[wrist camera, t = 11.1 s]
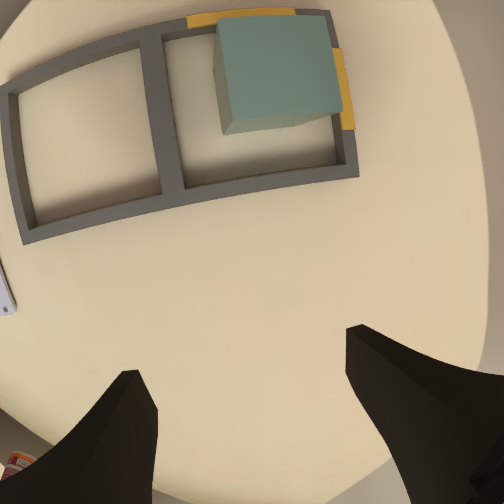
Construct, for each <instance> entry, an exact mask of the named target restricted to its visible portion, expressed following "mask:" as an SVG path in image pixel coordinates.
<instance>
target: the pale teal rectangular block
mask: <svg viewBox="0 0 504 504" xmlns="http://www.w3.org/2000/svg"><path fill="white" fill-rule="evenodd" d="M213 74H214V81H215V87H216V94H217V100H218V107H219V113H220V119H221V126H222V132H223V136H224V135H230V134H237V133H243V132H251V131H258V130H266V129H275V128H284V127H293V126H296V125H299V124H302V123H306V122H309V121H312V120H315V119H319V118H322V117H325V116H329V115H332V114H336V113H339V112H343V105H342V98H341V92H340V87H339V81H338V76H337V70H336V65H335V60H334V55H333V50H332V46H331V41H330V37H329V32H328V28H327V24H326V20H325V16H313V15H261V16H244V17H232V18H222V19H217V25H216V36H215V48H214V61H213Z"/></svg>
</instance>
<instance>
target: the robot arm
mask: <svg viewBox="0 0 504 504" xmlns="http://www.w3.org/2000/svg"><path fill="white" fill-rule="evenodd" d="M6 308H7V309H8V310H7V309H6ZM15 312H16V305H15V303H14V300H13V298H12V295H11V293H10V290H9V288H8V285H7V282H6V279H5V277H4V274H3V271H2V268H1V265H0V316H6V315H12V314H14V313H15ZM345 372H346V375H347V377H348V379H349V382H350V384H351V386H352V388H353V390H354V392H355V395H356V396H357V398H358V399H359V401H360V403H361V404H362V406H363V407H364V409H365V411H366V412H367V414H368V415H369V417H370V418H371V420H372V422H373V423H374V425H375V426H376V428H377V429H378V431H379V433H380V434H381V436H382V437H383V439H384V441H385V443H386V444H387V446H388V448H389V450H390V452H391V455H392V457H393V459H394V461H395V463H396V465H397V468H398V470H399V472H400V475H401V477H402V480H403V482H404V485H405V487H406V490H407V493H408V496H409V498H410V501H411V504H504V376H503V375H495V374H488V373H483V372H477V371H473V370H469V369H464V368H461V367H457V366H454V365H451V364H448V363H445V362H442V361H439V360H436V359H434V358H431V357H429V356H426V355H424V354H421V353H419V352H417V351H415V350H413V349H410V348H408V347H406V346H404V345H402V344H400V343H398V342H396V341H394V340H392V339H390V338H388V337H386V336H385V335H383V334H381V333H379V332H377V331H375V330H373V329H371V328H369V327H367V326H365V325H363V324H361V325H357V326H354V327H350V328H347V329H346V370H345ZM157 438H158V409H157V407H156V405H155V403H154V401H153V399H152V397H151V395H150V393H149V391H148V389H147V387H146V385H145V383H144V381H143V379H142V377H141V375H140V373H139V370H129V371H122V372H121V373H120V374H119V376H118V377H117V378H116V379H115V380H114V381H113V383H112V384H111V385H110V386H109V388H108V389H107V390H106V391H105V392H104V394H103V395H102V396H101V397H100V399H99V400H98V401H97V402H96V403H95V405H94V406H93V407H92V408H91V409H90V411H89V412H88V413H87V414H86V415H85V416H84V417H83V418H82V419H81V420H80V422H79V423H78V424H77V425H76V426H75V427H74V428H73V429H72V430H71V431H70V432H69V433H68V434H67V435H66V436H65V437H64V438H63V439H62V440H61V441H60V442H59V443H57V444H56V445H55V446H54V447H53V448H52V449H51V450H49V451H48V452H47V453H45V454H44V455H43V456H41V457H40V458H39V459H37V460H36V461H35V462H33V463H32V464H30V465H29V466H27V467H26V468H24V469H22V470H21V471H19V472H17V473H16V474H14V475H12V476H10V477H8V478H6V479H4V480H2V481H0V504H152V482H153V472H154V463H155V455H156V446H157Z"/></svg>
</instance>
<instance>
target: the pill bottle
mask: <svg viewBox="0 0 504 504" xmlns="http://www.w3.org/2000/svg"><path fill="white" fill-rule="evenodd" d="M37 459H38V458H36V457H35V456H33V455H31V454H29V453H26V452H23V451H20V450H14V451H13V452H12V453H11V455H10V458H9V460H8V462H7V465H6V467H5V470H4V472H3V475H2V478H1V480H0V481H2V480H4V479H6V478H8V477H10V476H12V475H14V474H16V473H17V472H19V471H21V470H22V469H24V468H26V467H27V466H29V465H30V464H32V463H33V462H35V461H36V460H37Z"/></svg>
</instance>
